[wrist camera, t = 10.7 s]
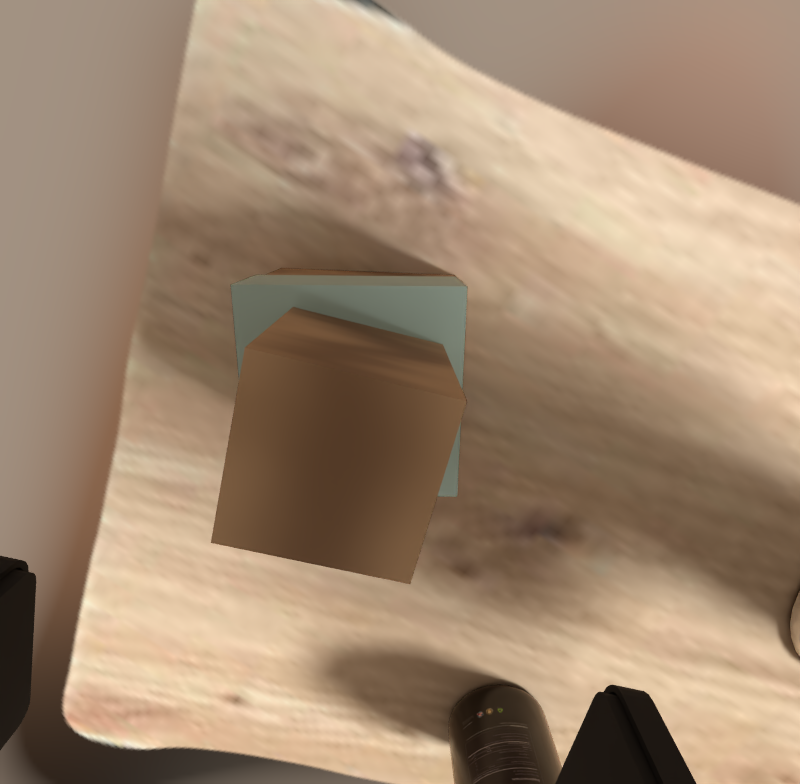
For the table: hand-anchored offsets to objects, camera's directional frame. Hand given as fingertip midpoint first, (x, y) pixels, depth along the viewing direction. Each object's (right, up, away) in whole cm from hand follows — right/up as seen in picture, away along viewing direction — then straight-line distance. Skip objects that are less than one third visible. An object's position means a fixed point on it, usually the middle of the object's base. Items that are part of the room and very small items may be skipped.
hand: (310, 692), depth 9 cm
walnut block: (-1, +5, +13) cm, 14 cm away
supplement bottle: (+8, -18, +28) cm, 35 cm away
